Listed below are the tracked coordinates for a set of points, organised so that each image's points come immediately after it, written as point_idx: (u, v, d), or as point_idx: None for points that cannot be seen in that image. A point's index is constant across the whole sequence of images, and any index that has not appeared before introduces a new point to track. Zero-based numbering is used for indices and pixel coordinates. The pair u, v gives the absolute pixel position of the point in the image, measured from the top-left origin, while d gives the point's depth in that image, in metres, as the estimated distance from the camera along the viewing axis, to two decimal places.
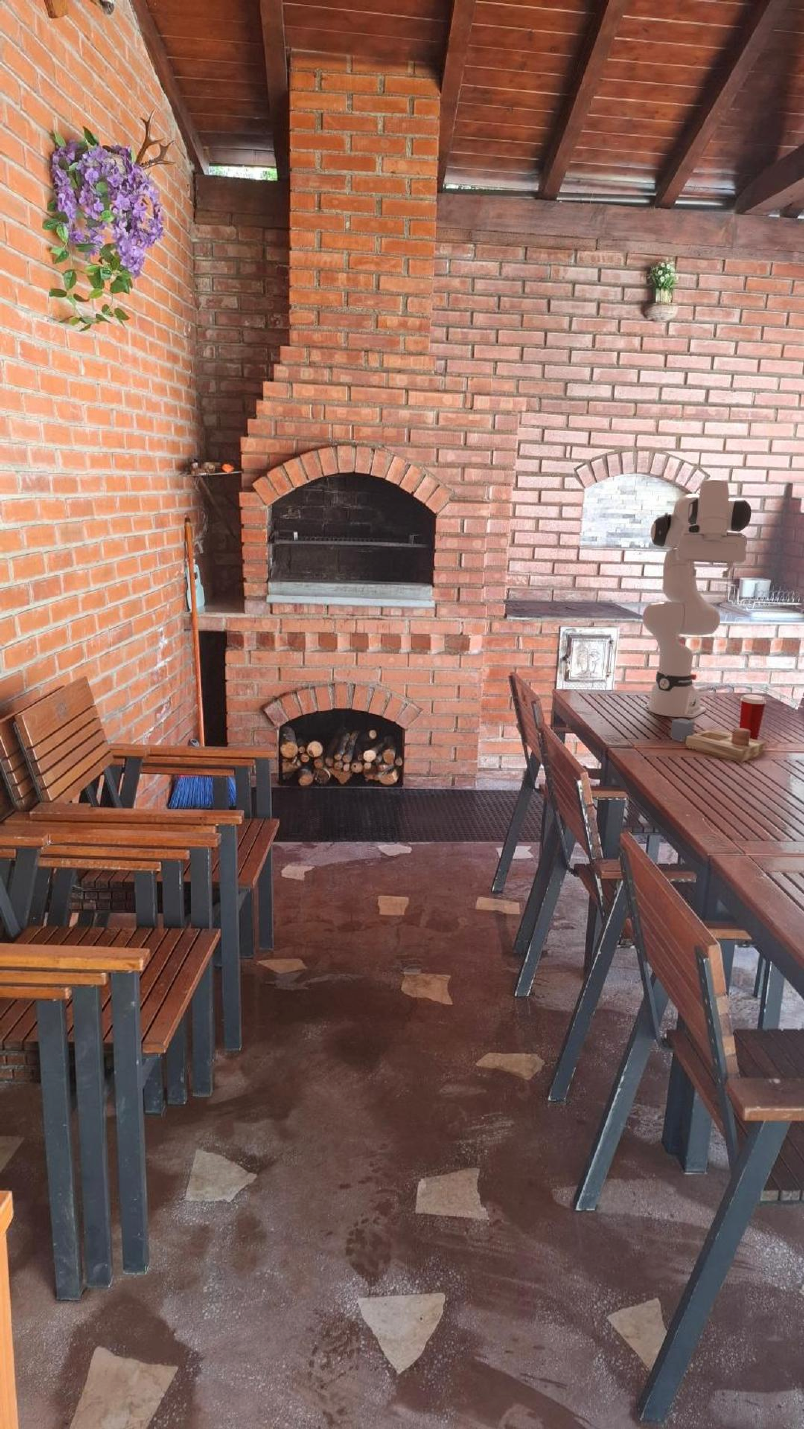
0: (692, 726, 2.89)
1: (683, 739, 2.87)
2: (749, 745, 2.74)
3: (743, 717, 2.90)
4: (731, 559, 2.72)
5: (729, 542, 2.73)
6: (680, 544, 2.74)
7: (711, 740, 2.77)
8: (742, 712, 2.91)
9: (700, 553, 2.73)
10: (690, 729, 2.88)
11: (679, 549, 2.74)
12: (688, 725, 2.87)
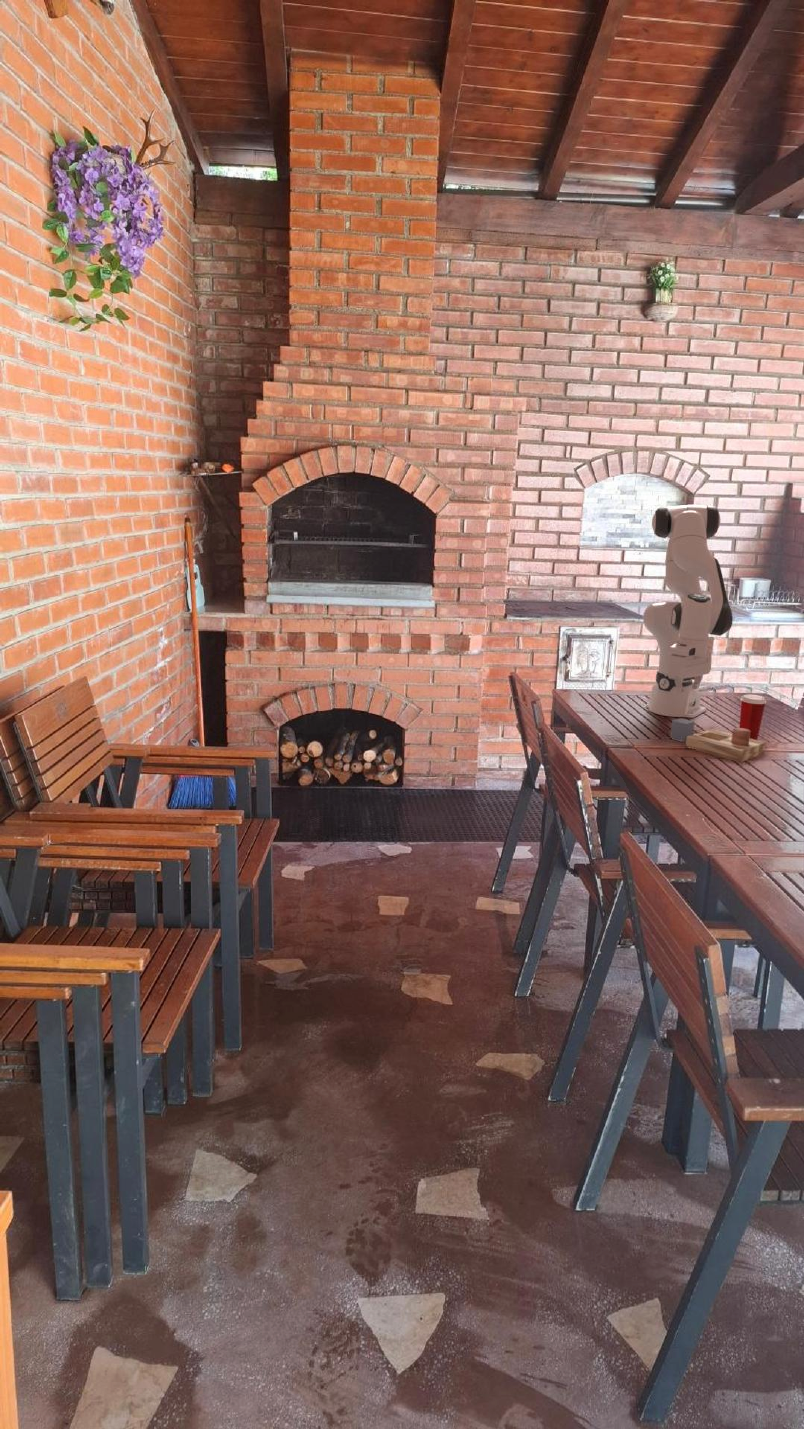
0: (692, 726, 2.89)
1: (683, 739, 2.87)
2: (749, 745, 2.74)
3: (743, 717, 2.90)
4: (703, 673, 2.88)
5: (704, 657, 2.86)
6: (680, 667, 2.76)
7: (711, 740, 2.77)
8: (742, 712, 2.91)
9: (689, 672, 2.81)
10: (690, 728, 2.88)
11: (679, 672, 2.77)
12: (688, 725, 2.87)
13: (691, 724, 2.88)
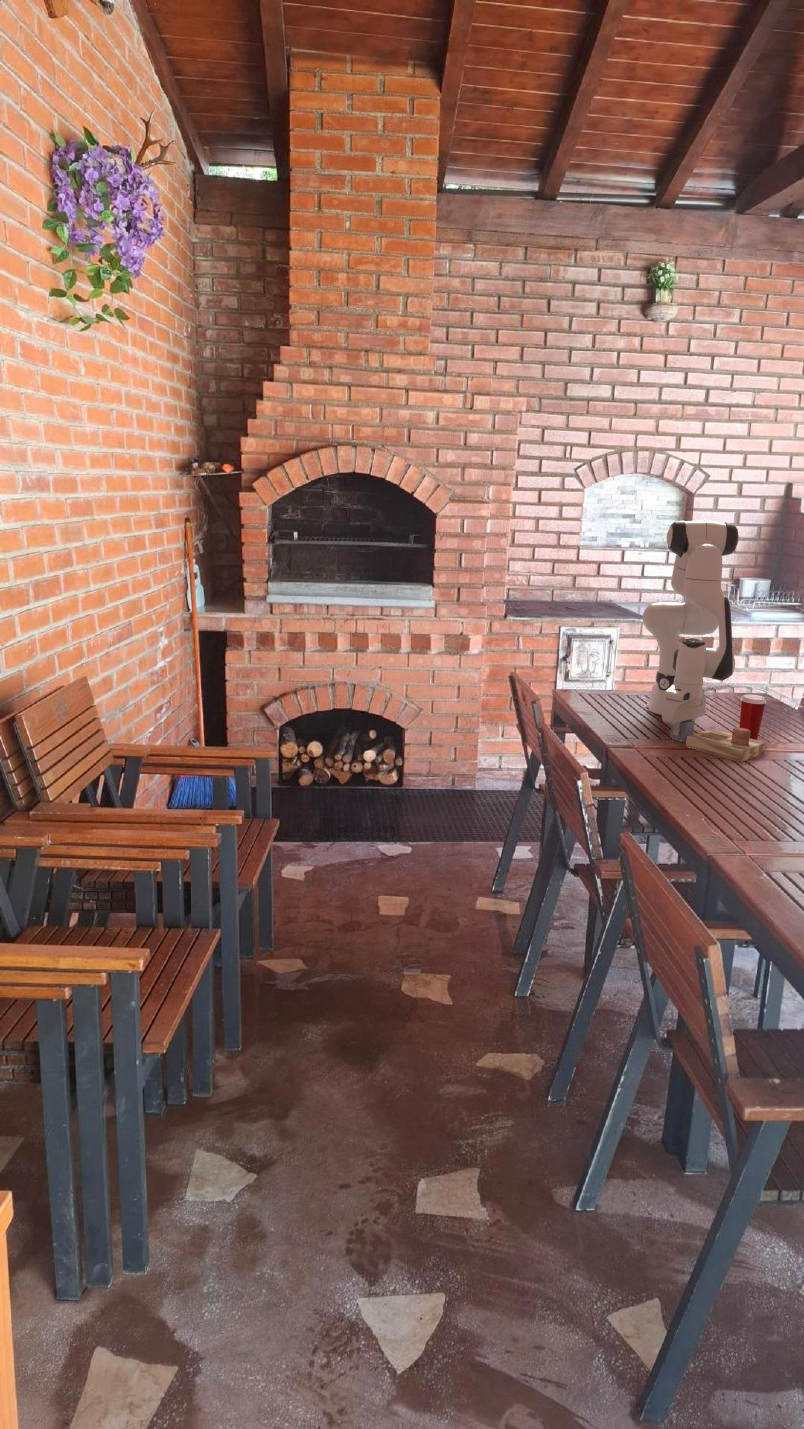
0: (692, 726, 2.89)
1: (683, 739, 2.87)
2: (749, 745, 2.74)
3: (743, 717, 2.90)
4: (698, 716, 2.92)
5: (698, 700, 2.90)
6: (675, 712, 2.80)
7: (711, 740, 2.77)
8: (742, 712, 2.91)
9: (683, 716, 2.85)
10: (690, 728, 2.88)
11: (674, 716, 2.81)
12: (688, 725, 2.87)
13: (691, 724, 2.88)
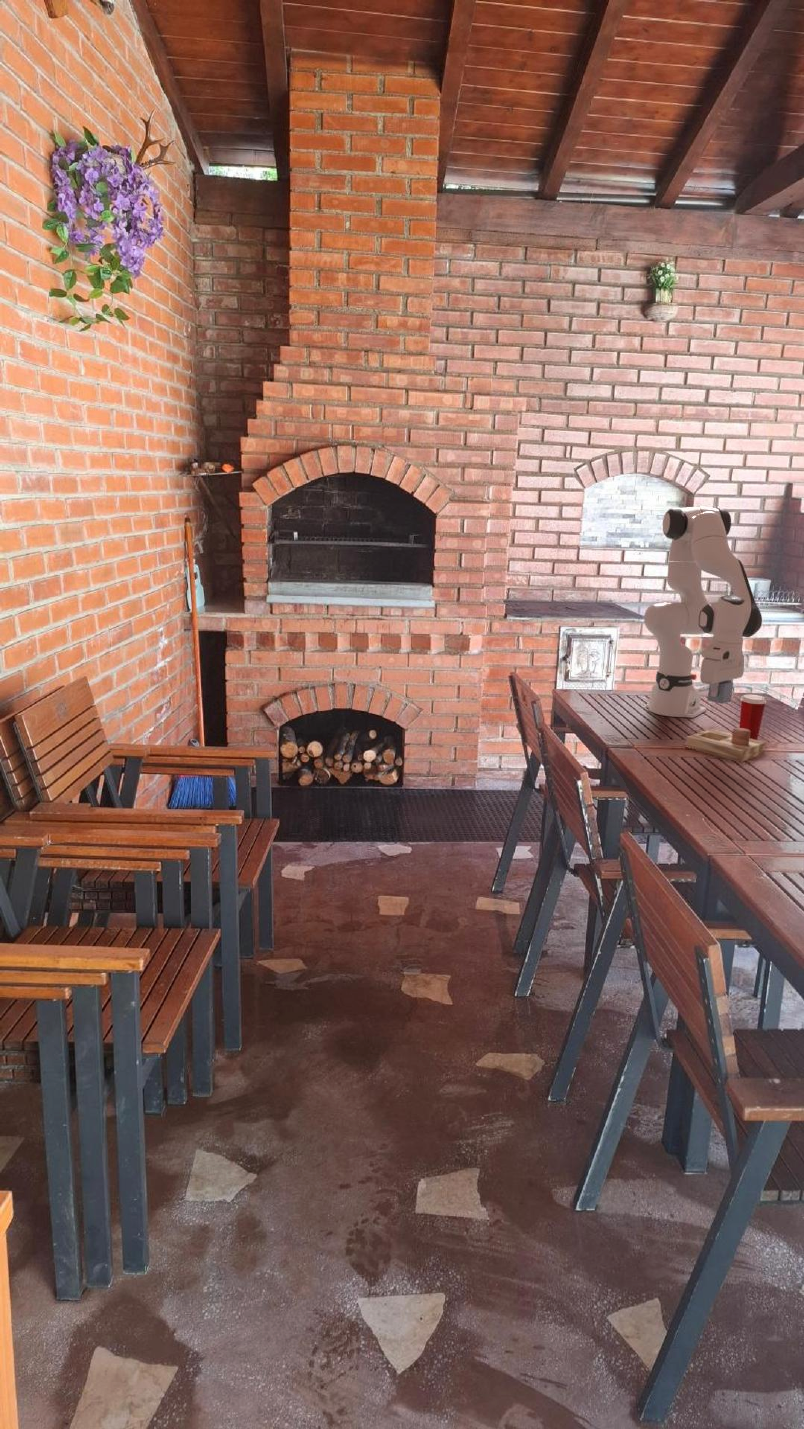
0: (731, 687, 2.77)
1: (722, 700, 2.76)
2: (749, 745, 2.74)
3: (743, 717, 2.90)
4: (736, 677, 2.80)
5: (737, 661, 2.78)
6: (714, 671, 2.69)
7: (711, 740, 2.77)
8: (742, 712, 2.91)
9: (722, 676, 2.73)
10: (729, 690, 2.77)
11: (713, 676, 2.69)
12: (727, 686, 2.75)
13: (730, 685, 2.77)
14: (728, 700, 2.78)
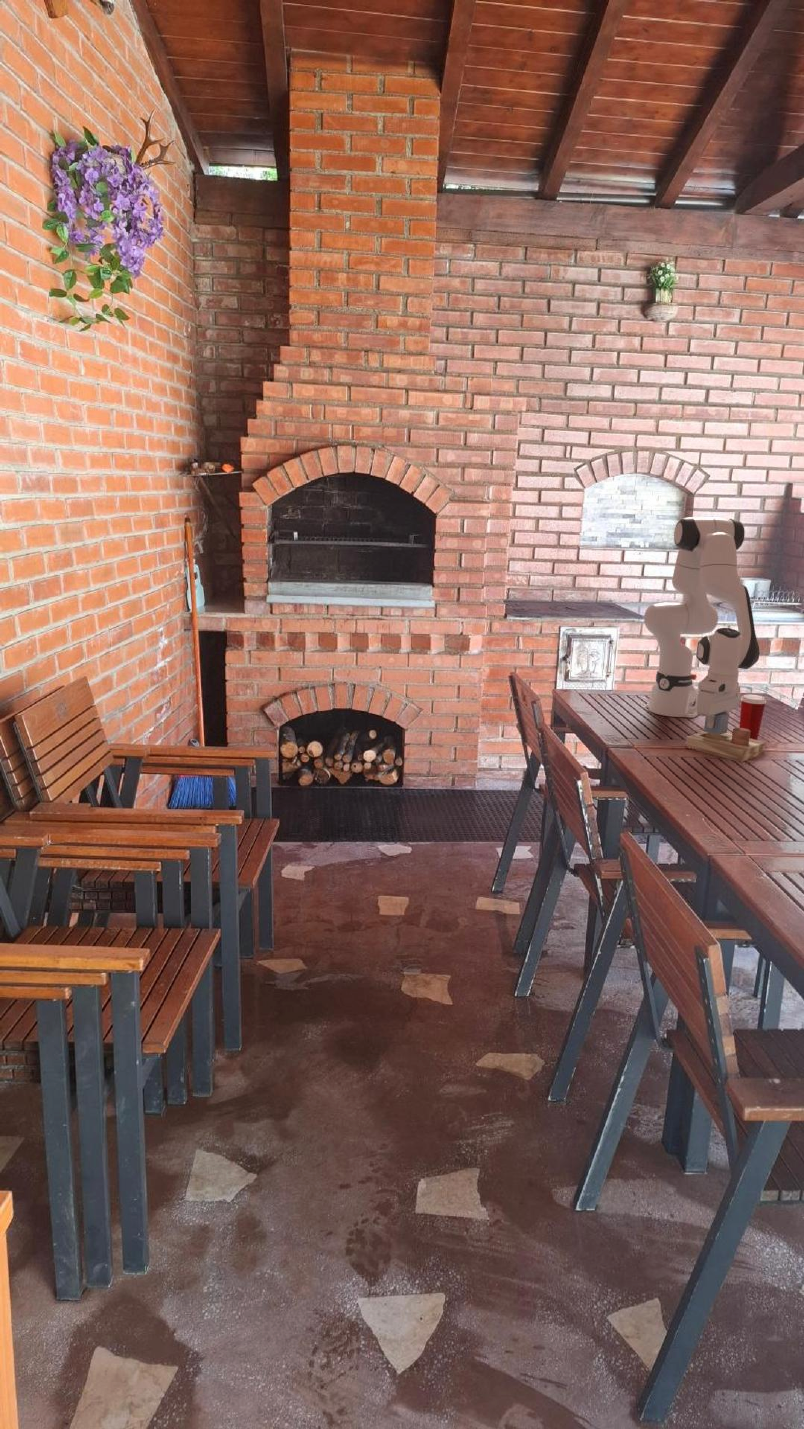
0: (727, 718, 2.80)
1: (718, 732, 2.78)
2: (749, 745, 2.74)
3: (743, 717, 2.90)
4: (732, 708, 2.82)
5: (733, 692, 2.80)
6: (710, 704, 2.71)
7: (711, 740, 2.77)
8: (742, 712, 2.91)
9: (718, 708, 2.76)
10: (725, 721, 2.79)
11: (709, 708, 2.71)
12: (723, 717, 2.78)
13: (726, 716, 2.79)
14: (724, 731, 2.80)
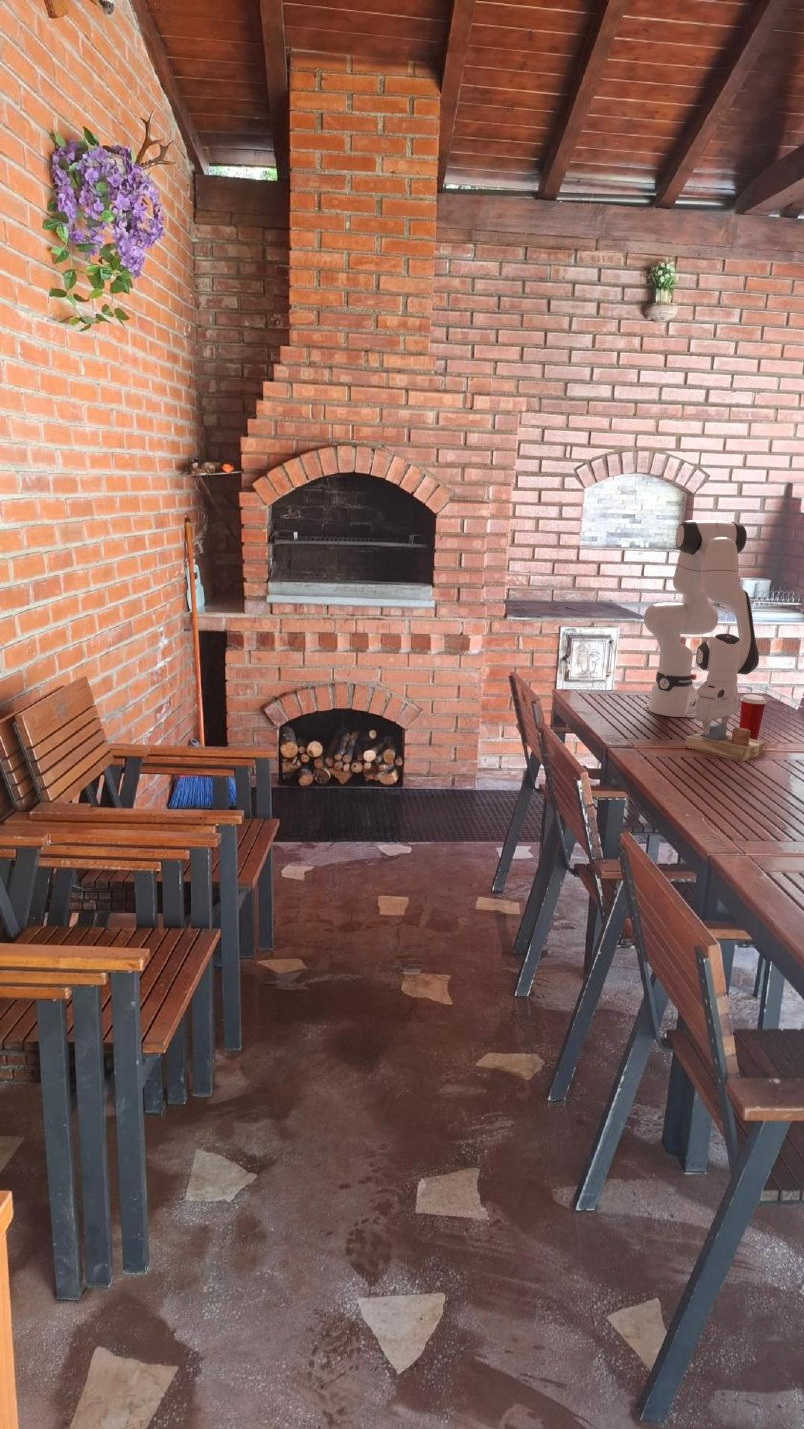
0: (725, 731, 2.81)
1: None
2: (749, 745, 2.74)
3: (743, 717, 2.90)
4: (731, 713, 2.83)
5: (732, 698, 2.81)
6: (709, 709, 2.72)
7: (711, 740, 2.77)
8: (742, 712, 2.91)
9: (717, 714, 2.77)
10: (723, 733, 2.80)
11: (707, 714, 2.72)
12: (721, 730, 2.79)
13: (724, 729, 2.80)
14: None
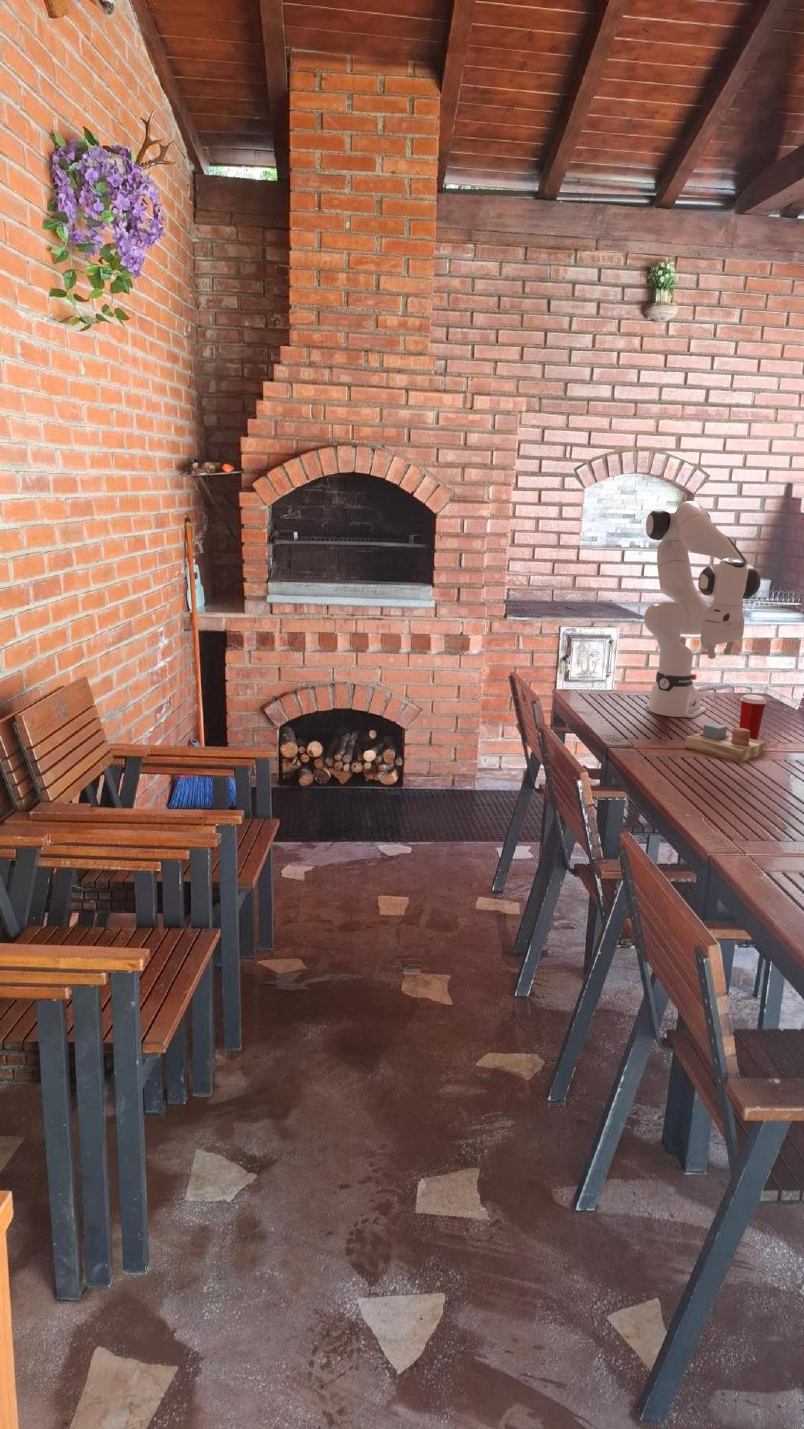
0: (725, 731, 2.81)
1: None
2: (749, 745, 2.74)
3: (743, 717, 2.90)
4: (736, 639, 2.85)
5: (737, 623, 2.82)
6: (714, 633, 2.73)
7: (711, 740, 2.77)
8: (742, 712, 2.91)
9: (722, 638, 2.78)
10: (723, 733, 2.80)
11: (712, 638, 2.74)
12: (721, 730, 2.79)
13: (724, 729, 2.80)
14: None
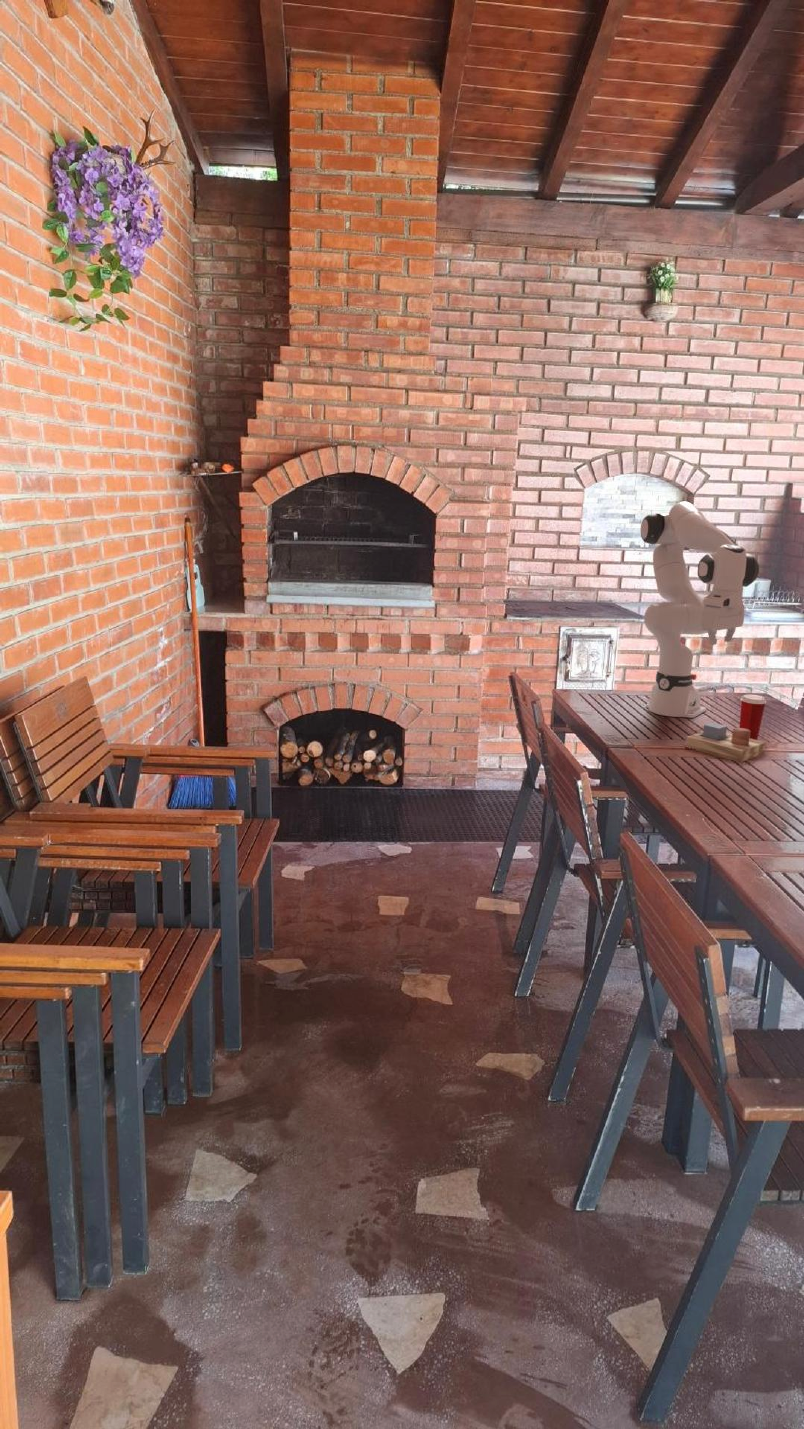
0: (725, 731, 2.81)
1: None
2: (749, 745, 2.74)
3: (743, 717, 2.90)
4: (736, 626, 2.85)
5: (737, 609, 2.83)
6: (715, 618, 2.74)
7: (711, 740, 2.77)
8: (742, 712, 2.91)
9: (722, 624, 2.79)
10: (723, 733, 2.80)
11: (713, 623, 2.75)
12: (721, 730, 2.79)
13: (724, 729, 2.80)
14: None
